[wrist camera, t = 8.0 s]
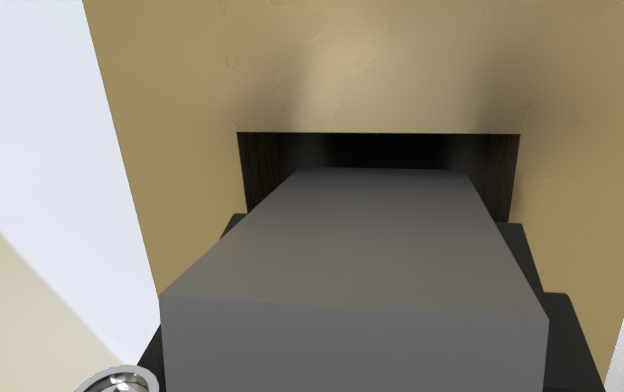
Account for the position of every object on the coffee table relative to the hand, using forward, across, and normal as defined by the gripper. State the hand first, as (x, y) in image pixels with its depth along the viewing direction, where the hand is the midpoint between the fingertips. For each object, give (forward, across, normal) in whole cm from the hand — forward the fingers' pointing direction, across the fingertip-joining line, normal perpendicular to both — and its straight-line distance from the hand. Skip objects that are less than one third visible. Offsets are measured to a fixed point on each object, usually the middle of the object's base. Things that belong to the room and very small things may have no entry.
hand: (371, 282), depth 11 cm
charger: (+3, 0, +1) cm, 3 cm away
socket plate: (+5, 0, 0) cm, 5 cm away
